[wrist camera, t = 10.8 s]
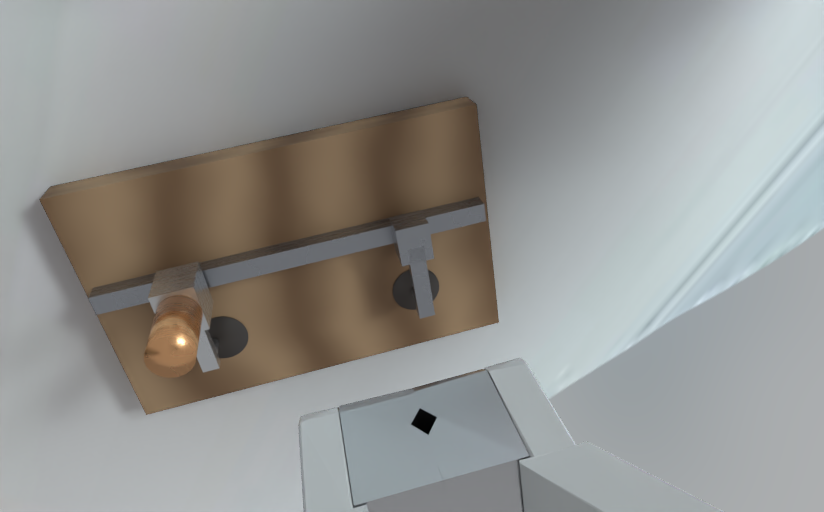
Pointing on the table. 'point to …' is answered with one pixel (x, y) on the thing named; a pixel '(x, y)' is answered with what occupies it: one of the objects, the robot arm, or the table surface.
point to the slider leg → (180, 323)
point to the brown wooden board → (282, 222)
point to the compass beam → (322, 254)
